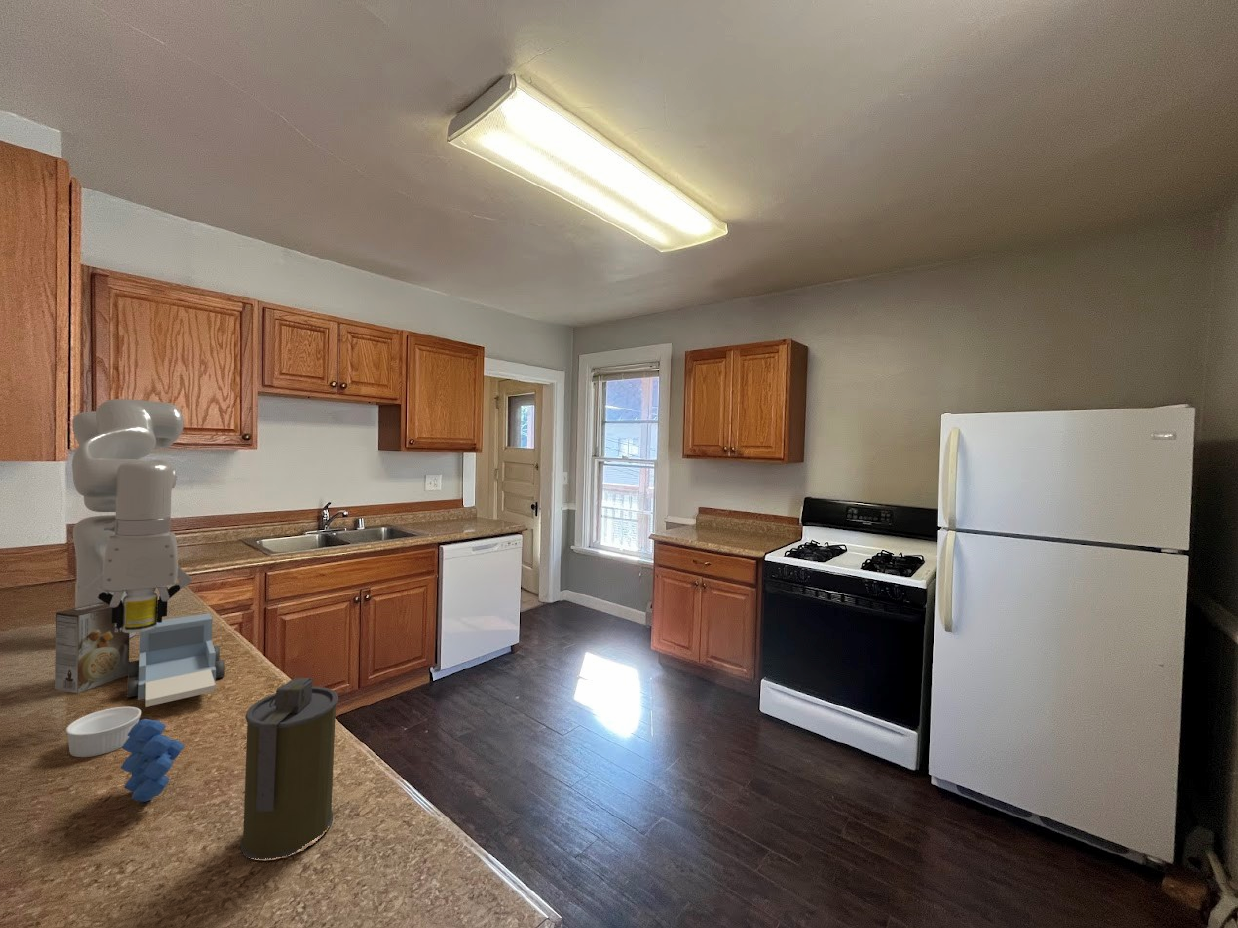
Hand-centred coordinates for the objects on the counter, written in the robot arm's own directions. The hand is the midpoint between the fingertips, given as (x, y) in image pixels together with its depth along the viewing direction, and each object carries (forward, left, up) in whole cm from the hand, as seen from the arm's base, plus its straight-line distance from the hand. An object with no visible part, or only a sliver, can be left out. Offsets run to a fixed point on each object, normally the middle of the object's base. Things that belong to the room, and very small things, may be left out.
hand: (140, 622), depth 94 cm
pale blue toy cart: (-14, +6, -17) cm, 23 cm away
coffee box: (-21, -7, -17) cm, 29 cm away
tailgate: (-6, +6, -14) cm, 17 cm away
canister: (+52, +15, -17) cm, 57 cm away
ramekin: (+10, -4, -18) cm, 21 cm away
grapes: (+32, +2, -17) cm, 36 cm away
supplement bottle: (0, 0, -1) cm, 1 cm away
